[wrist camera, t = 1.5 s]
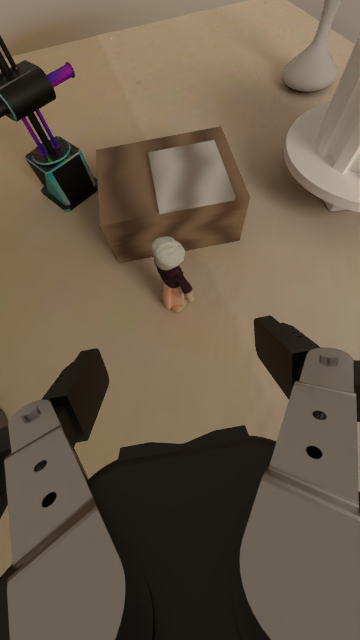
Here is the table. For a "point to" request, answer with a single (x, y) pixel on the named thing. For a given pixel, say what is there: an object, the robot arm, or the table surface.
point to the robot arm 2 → (52, 155)
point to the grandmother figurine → (172, 273)
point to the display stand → (170, 193)
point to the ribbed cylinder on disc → (330, 144)
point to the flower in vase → (314, 58)
